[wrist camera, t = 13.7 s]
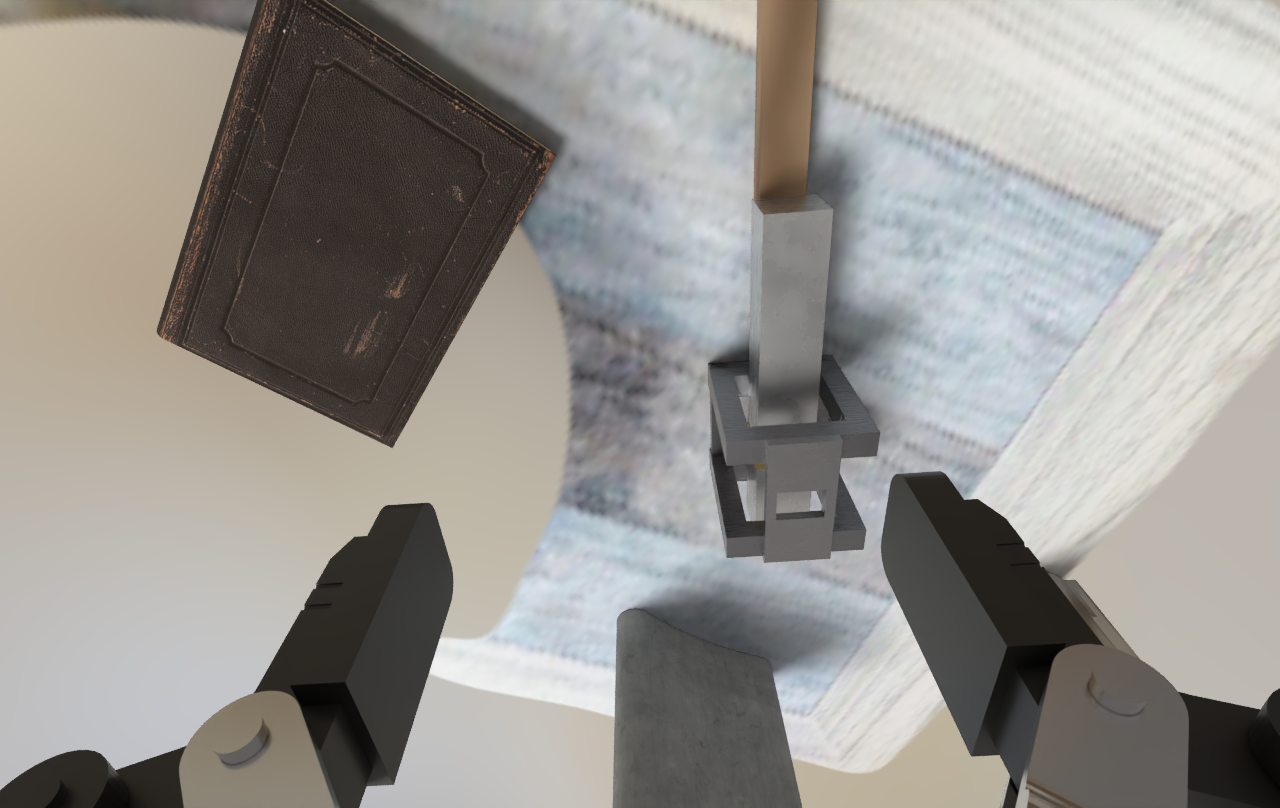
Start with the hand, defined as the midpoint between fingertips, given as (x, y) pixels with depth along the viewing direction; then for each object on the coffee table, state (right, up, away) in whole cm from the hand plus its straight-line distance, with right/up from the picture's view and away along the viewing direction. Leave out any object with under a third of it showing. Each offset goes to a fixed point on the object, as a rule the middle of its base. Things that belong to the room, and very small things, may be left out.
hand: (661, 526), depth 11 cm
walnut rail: (+8, +16, +25) cm, 31 cm away
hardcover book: (-18, +12, +28) cm, 36 cm away
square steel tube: (+9, +4, +30) cm, 32 cm away
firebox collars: (+9, +1, +34) cm, 35 cm away
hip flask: (+4, -20, +47) cm, 51 cm away
